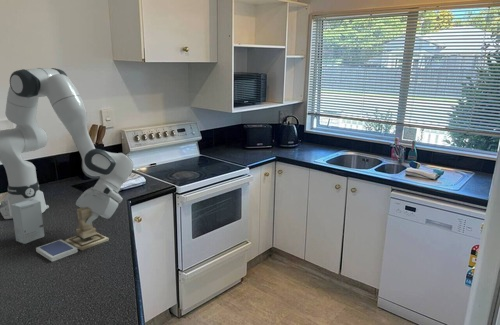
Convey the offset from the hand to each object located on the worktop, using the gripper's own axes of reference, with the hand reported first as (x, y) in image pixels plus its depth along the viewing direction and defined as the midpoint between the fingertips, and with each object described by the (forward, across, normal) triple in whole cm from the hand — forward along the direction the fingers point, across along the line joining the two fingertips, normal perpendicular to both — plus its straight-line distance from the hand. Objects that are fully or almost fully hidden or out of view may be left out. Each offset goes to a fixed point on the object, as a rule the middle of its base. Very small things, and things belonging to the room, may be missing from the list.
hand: (83, 222), depth 140 cm
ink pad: (+13, 0, -2) cm, 13 cm away
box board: (+5, 0, +6) cm, 8 cm away
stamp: (+4, 0, +5) cm, 6 cm away
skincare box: (+14, -19, -3) cm, 24 cm away
